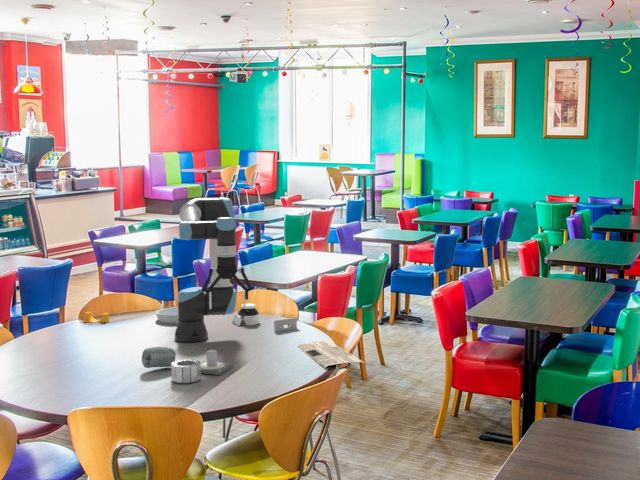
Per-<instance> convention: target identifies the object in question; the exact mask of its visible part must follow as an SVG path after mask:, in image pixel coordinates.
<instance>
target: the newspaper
mask: <svg viewBox="0 0 640 480" xmlns="http://www.w3.org/2000/svg"><path fill="white" fill-rule="evenodd" d="M295 346H296V347H297V348H299V349H300V350H301V352H303V353H304V354H305V355H306V356H307V357H309V358H310V359H311V360H313V361H314V362H315V363H316V364H317V365H318V366H320V367H321V368H323V369H324V370H327V369H328V368H327V367H330V366H335V365H341V364H343V365H344V364H348V363H349V364H350V363H351V364H352V363H361V364H362V365H366V363H365V362H364V361H362V359H360V358H358V357H357V356H355V355H353V354H351V353H350V352H348V351H347V350H344V348H341V347H340V346H339V345H336V344H334V343H333V342H331V341H330V340H322V341H312V342H311V341H310V342H302V343H298V344H295Z"/></svg>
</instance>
